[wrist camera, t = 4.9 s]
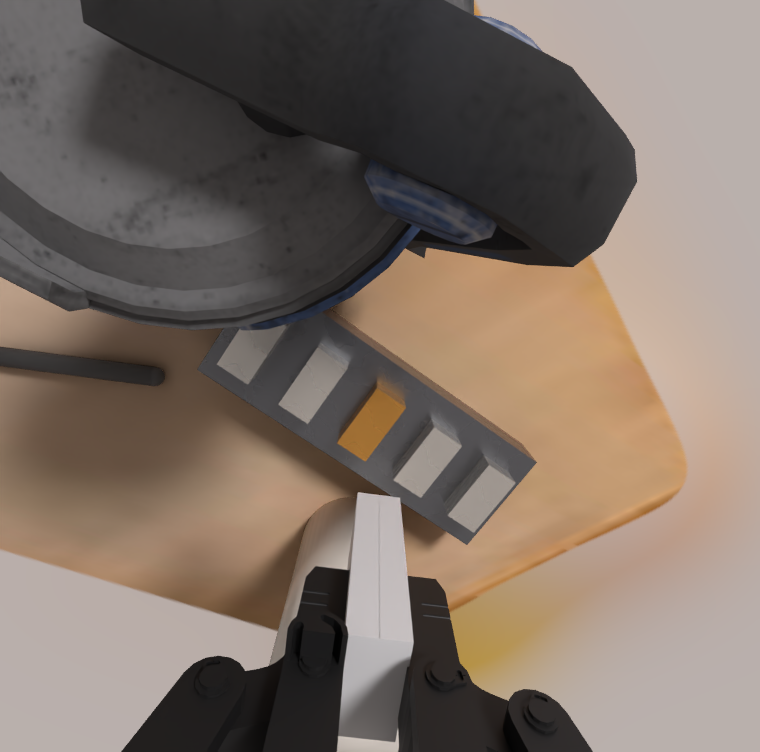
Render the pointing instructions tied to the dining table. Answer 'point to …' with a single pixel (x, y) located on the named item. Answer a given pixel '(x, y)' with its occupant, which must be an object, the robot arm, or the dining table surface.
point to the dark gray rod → (81, 367)
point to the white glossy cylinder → (327, 549)
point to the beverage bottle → (284, 152)
